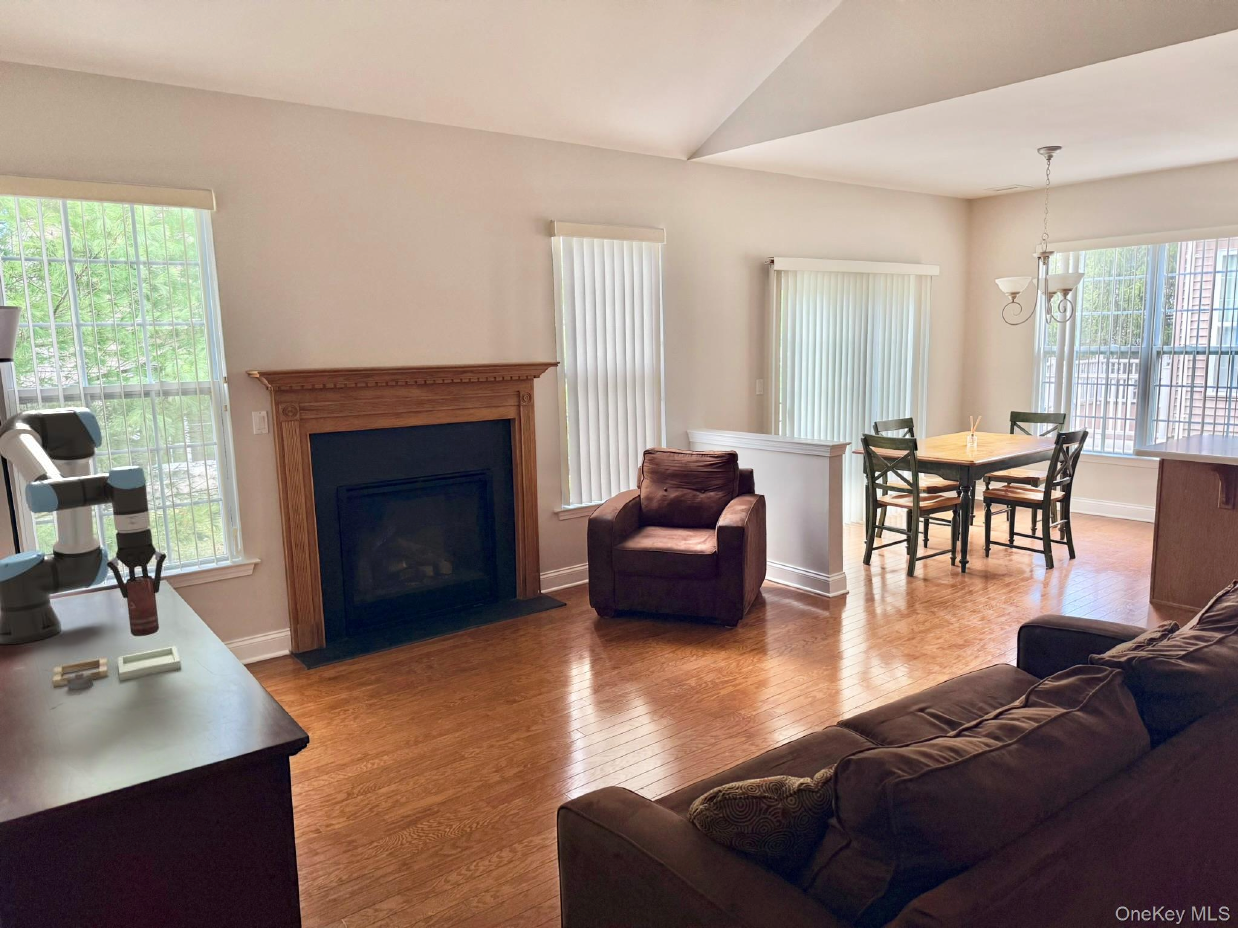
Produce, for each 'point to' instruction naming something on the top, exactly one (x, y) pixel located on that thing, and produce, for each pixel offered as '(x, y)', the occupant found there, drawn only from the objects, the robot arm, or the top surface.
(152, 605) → the can
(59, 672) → the collar block
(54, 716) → the top surface
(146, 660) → the tray
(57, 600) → the top surface
